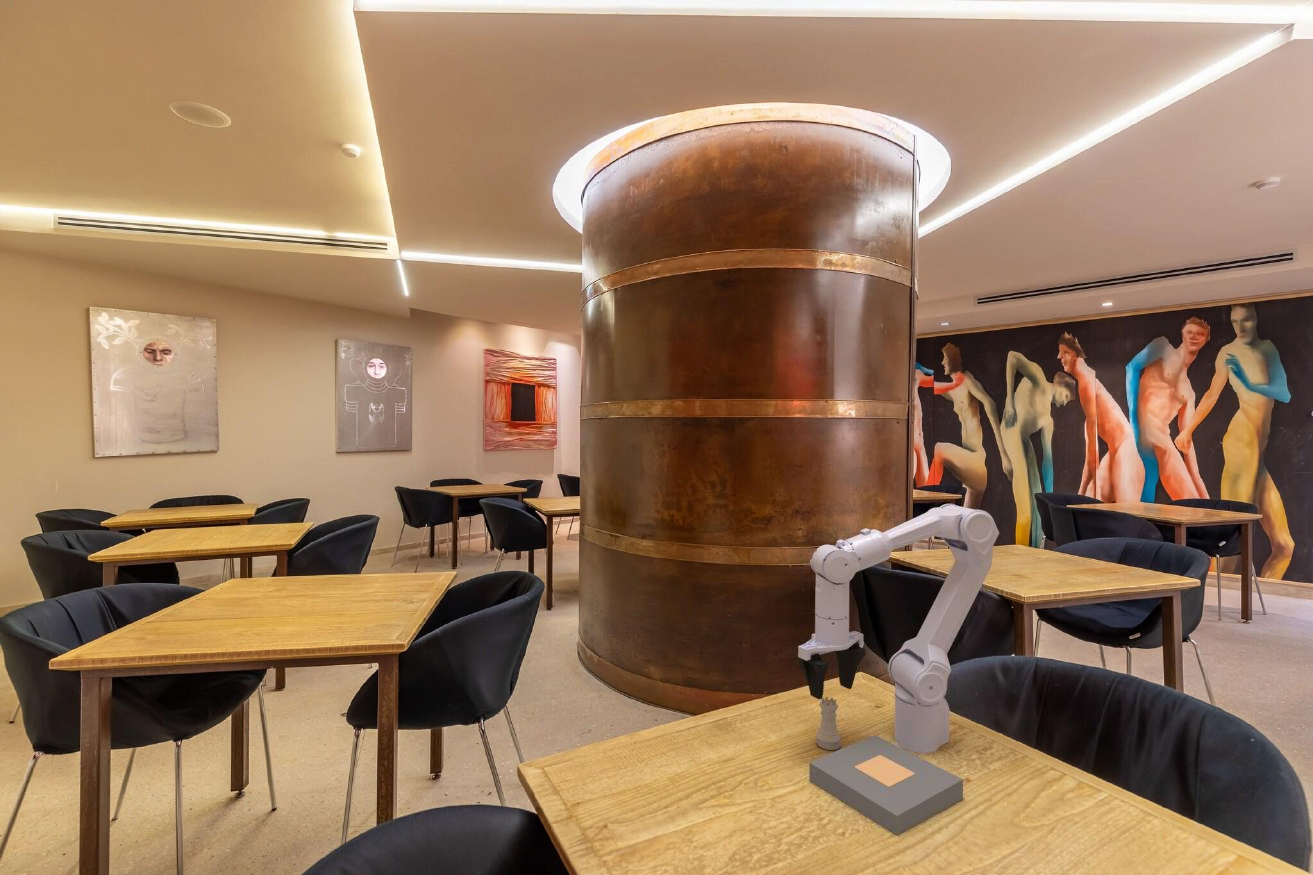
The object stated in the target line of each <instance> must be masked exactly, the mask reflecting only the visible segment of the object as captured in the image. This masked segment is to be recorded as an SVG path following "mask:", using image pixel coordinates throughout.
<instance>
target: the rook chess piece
mask: <svg viewBox="0 0 1313 875" xmlns="http://www.w3.org/2000/svg"><path fill="white" fill-rule="evenodd" d="M820 700H821V701H820V702H819V707H820V709H821V711H820V716H821V720H820V721H821V722H820V725H819V726H820V727H819V728H818V731H816V735H815V737H816V738H815V742H816V745H817V746H818V747H819V748H820V749H823V750H825V751H838V750H839V749H840V748H841V746H842V742H841V740H842V736H841V735H840V733H839V730H838V728H837V727H838V726H837V720H836V719H837V716H838V715H837V712H836V711H837V710H838V708H839V705H838V704H837V700H836V699H834V697H830V699H829V697H828V696H826V697H822V699H820Z"/></svg>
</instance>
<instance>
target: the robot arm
mask: <svg viewBox="0 0 1313 875" xmlns="http://www.w3.org/2000/svg"><path fill="white" fill-rule="evenodd" d="M859 532H860V534H856V535H855V536H853V537H850V538H847V539H844V540H843V539H842V538H841V539H838V540H837V541H836V544H835V545H832V544H823V545H821V546H819V547H817V549H816V551H814V553H813V554H812V558H811V559H809V563H810V566H811V569H812V571H813V572H814V573H815V589H814V590H815V593H814V594H815V597H814V598H815V600H814V602H815V604H814V606H815V607H814V608H815V609H814V614H815V615H814V617H815V618H814V620H815V621H814V633H812V634H811V638H810V639H809V640H808V641H806V642H805V643H803V644H801V645H798V646H797V647H798V650H797V651H798V652H797V654H796V655H797V656H796V658H797V662H799V664H800V666H801V668H802V670H803V673H804V675H805V678H806V681H807V684H808V689H809V694H810V696H811V697H813V698H815V699H817V700H822V698H824V697H823V695H824V689H825V679H826V674H827V671H828V668H829V666H830V663H829V662H827V661H825V660H824V659H823V657H821V655H824V654H827V653H832V652H835V655H836V659H837V665H838V680H839V685H840V686H841V687H843V688H845V689H848V690H851V689H852V688H853V685H854V681H855V678H856V674H857V671H858V669H859V667H860V664H861V662H862V660H863V658H864V657H866V648H863V647H861V646H863V645H864V634H863V633H862V632H858V631H856V630H854V631H850V581H851V580H852V579H853V578H854V576H855V575H856V573H857V572H861V571H863V570H865V569H868V568H871V567H873V566H875V565H877V564H881V563H883V562H885V561H888V560H889V559H890V557H891V554H892V552H893V551H894V550H896V549H899V548H903V547H905V546H909V545H911V544H914V543H917V542H921V541H923V540H926V539H929V538H932V537H938V538H941V539H942V540H943V541H944V543H945V544H946V545H947V546H948V547H949V549H950V551H951V554H952V556H953V559H954V563H953V564H952V567H951V569H950V570H949V573H948V574H947V576H946V578H945V580H944V582H943V584H942V586H941V588H940V590H939V592H938V594H937V596H936V598H935V600H934V601H933V604H932V606H931V607H930V609H929V611H928V613H927V615H926V618H925V619H924V621H923V623H922V625H921V627H920V629H919V631H918V633H917V635H916V636H915V637H914V638H911V639H908V640H906V641H905V642H903V644H902V646H901V648H900V649H899V650H898V651H897V652H896V653H894V654H893V655H892V656H891V658H890V659H889V662H888V665H887V671H888V674H889V677H890V679H892V681H894V741H895V744H896V745H897V746H898V747H900V748H902V749H904V750H906V751H908V752H909V751H910V752H912V753H913V752H914V753H916V754H917V753H918V754H932V753H935V752H936V751H938V749H939V748H940V747H941V746H943V745H945V744H947V743H949V742H950V718H951V717H950V712H951V711H950V707H949V704H948V702H947V700H946V698H945V696H946V694H947V691H948V679H949V676H950V674H951V672H952V668H951V667H952V666H951V665H950V662H949V658H948V653H949V651H950V648H951V647H952V645H953V642H954V641H955V639H956V638H957V635H958V633H959V631H960V629H961V627H962V626H963V623H964V621H965V619H966V617H967V616H968V613H969V611H970V609H972V608H971V607H972V605H973V603H975V599H976V598H977V596H978V594H979V592H980V589H981V587H982V586H983V584H984V582H985V580H986V578H987V576H988V574H989V572H990V570H991V568H992V565H993V555H994V554H993V552H994V544H995V543H996V542H997V539H998V536H999V535H1000V530H999V529H998V527H997V525H996V522H995V520H994V518H993V517H992V515H991V514H990V513H989V512H987V511H986V510H983V509H973V508H968V507H963V506H959V505H956V504H954V503H945V504H942V505H941V506H939V507H933V508H930V509H928V511H926V512H925V513H922V514H920V515H918V516H916V517H913V518H912V519H909V520H908V521H905V522H903V523H901V524H898V525H897V526H894V527H892V528H889V529H888V530H886V531H884V532H882V531H880V530H878V529H874V528H873V529H869V528H867V527H866V528H863V529H861V530H860V531H859Z"/></svg>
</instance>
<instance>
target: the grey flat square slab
mask: <svg viewBox="0 0 1313 875" xmlns="http://www.w3.org/2000/svg"><path fill="white" fill-rule="evenodd" d="M808 769H809V770H808V771H809V772H808V773H809V782H810V783H811V784H813V785H815V786H817V787H818V788H819V789H821V790H823V791H825V792H826V793H828V794H829V795H831V796H832V797H834V798H836V799H837V800H839V801H841V802H842V803H843V804H845V805H847V806H849V807H850V808H851V809H854V810H855V811H857V812H858V813H860V814H862V815H863V816H865V817H866V818H867V819H870V820H871V821H873V822H874V823H876V824H877V825H879V826H881V827H882V828H884V829H885V830H887V831H889V832H890V833H892V834H894V835H895V836H899V835H901V834H902V833H904V832H906V831H909V830H910V829H912V828H914V827H916V826H917V825H919V824H921V823H923V822H925V821H927V820H929V819H930V818H932V817H935V816H936V815H938V814H940V813H941V812H943V811H945V810H947V809H948V808H950V807H952V806H953V805H956V804H957V803H959V802H960V801H962V800H963V799H964V778H961V777H959V776H957V775H955V774H953V773H952V772H949V771H947V770H945V769H944V768H941V767H940V766H937V765H935V764H933V763H932V762H929V761H927V760H926V759H924V758H921V757H919V756H918V755H915V754H913V752H912V753H911V751H910V752H909V750H906V749H904V748H902V747H901V746H899V745H897V744H896V745H895V744H894V743H891V741H888V740H886V739H885V738H882V737H880V736H878V735H876V734H873V735H871V736H868V737H865V738H864V739H862V740H859V741H857V742H855V743H852V744H850V745H848V746H845V747H842V748H839V749H837V750H834V751H833V752H830V753H828V754H826V755H824V756H822V757H819V758H817V759H813V760H812V761H810V762H809V768H808Z"/></svg>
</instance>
